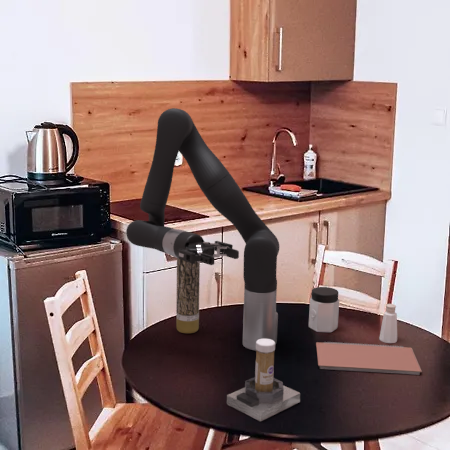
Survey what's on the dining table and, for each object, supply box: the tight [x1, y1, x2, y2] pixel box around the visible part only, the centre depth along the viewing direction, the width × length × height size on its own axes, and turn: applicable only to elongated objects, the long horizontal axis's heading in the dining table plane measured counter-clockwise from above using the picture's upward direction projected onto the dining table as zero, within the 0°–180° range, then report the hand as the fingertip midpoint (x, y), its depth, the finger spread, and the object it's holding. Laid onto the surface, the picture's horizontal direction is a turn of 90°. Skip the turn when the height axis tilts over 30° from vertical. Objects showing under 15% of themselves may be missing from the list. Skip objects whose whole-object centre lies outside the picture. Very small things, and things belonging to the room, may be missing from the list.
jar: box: [308, 286, 340, 333], centre depth 216 cm, size 9×8×12 cm
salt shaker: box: [378, 303, 398, 344], centre depth 208 cm, size 5×5×11 cm
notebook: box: [315, 341, 423, 376], centre depth 195 cm, size 27×17×2 cm, turn 85°
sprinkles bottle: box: [254, 339, 276, 392], centre depth 167 cm, size 5×5×13 cm
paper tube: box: [175, 258, 201, 334], centre depth 210 cm, size 7×7×25 cm
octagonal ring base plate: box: [226, 376, 301, 422], centre depth 169 cm, size 14×11×5 cm
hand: (225, 258), depth 176 cm, fingers open, 8 cm apart
